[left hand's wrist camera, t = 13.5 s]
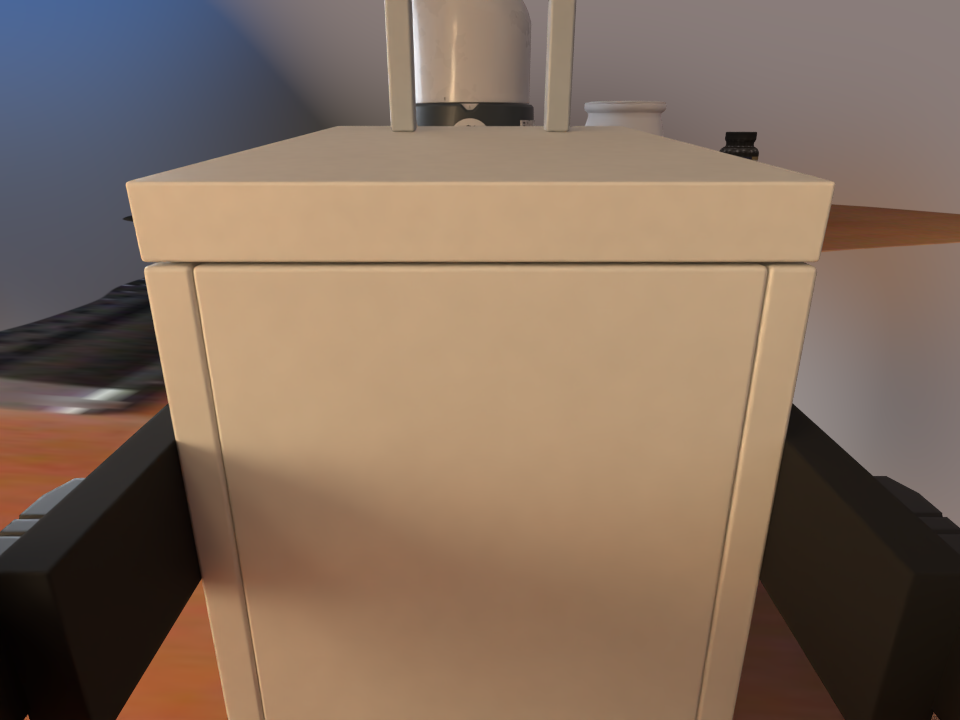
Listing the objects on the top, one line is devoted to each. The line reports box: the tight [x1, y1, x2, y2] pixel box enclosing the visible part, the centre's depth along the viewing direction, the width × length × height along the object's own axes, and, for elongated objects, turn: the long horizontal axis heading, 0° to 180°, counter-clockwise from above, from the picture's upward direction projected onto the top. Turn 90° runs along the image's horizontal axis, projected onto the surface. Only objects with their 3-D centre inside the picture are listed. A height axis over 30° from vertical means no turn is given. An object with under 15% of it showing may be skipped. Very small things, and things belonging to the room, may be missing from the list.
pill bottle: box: [719, 132, 759, 162], centre depth 104 cm, size 6×6×11 cm
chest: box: [144, 262, 817, 720], centre depth 17 cm, size 13×10×11 cm
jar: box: [584, 101, 666, 137], centre depth 86 cm, size 11×10×15 cm
